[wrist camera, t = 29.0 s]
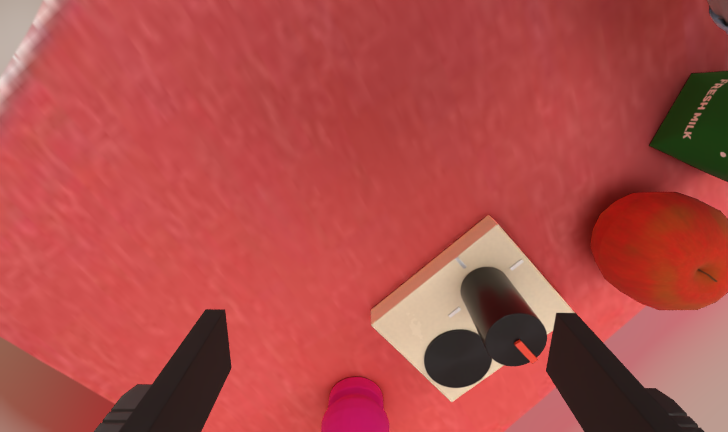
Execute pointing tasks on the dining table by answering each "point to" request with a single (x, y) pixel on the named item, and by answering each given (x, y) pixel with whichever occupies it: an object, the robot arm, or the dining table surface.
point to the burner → (457, 359)
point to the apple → (663, 250)
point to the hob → (459, 296)
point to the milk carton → (698, 124)
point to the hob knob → (502, 317)
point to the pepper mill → (355, 407)
